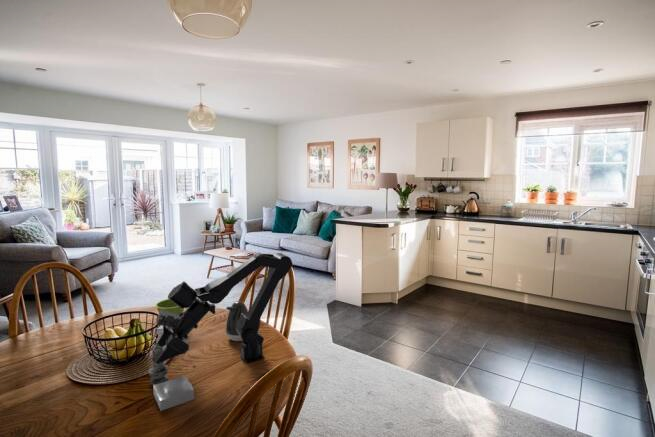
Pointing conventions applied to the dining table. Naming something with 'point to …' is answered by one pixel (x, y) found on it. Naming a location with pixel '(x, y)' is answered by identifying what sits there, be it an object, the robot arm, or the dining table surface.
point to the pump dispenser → (234, 319)
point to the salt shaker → (158, 368)
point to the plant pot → (168, 306)
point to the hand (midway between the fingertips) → (155, 356)
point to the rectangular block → (173, 392)
